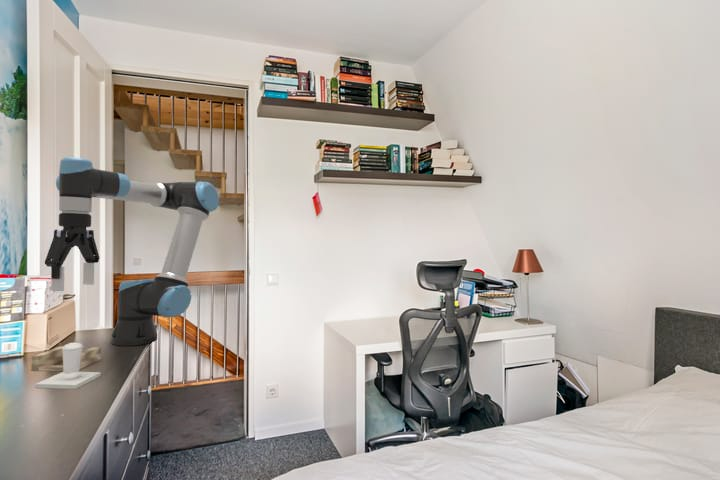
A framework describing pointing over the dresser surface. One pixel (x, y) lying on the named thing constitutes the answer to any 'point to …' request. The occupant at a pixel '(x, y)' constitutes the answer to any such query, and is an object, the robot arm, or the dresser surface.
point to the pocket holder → (55, 355)
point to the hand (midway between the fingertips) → (74, 287)
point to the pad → (67, 381)
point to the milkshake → (71, 360)
